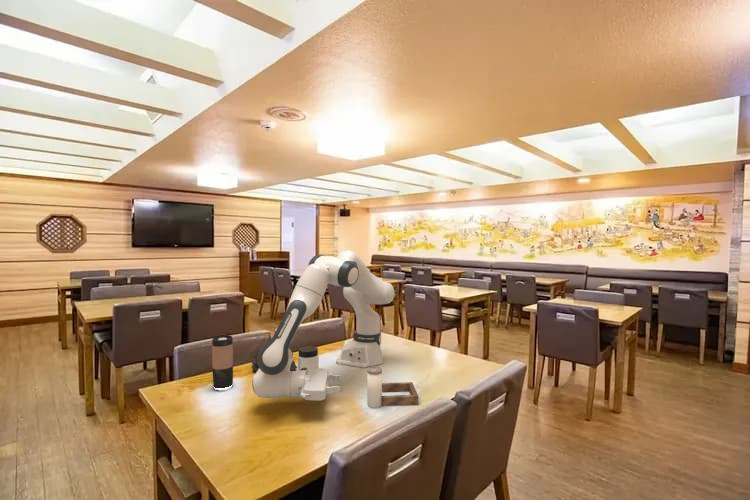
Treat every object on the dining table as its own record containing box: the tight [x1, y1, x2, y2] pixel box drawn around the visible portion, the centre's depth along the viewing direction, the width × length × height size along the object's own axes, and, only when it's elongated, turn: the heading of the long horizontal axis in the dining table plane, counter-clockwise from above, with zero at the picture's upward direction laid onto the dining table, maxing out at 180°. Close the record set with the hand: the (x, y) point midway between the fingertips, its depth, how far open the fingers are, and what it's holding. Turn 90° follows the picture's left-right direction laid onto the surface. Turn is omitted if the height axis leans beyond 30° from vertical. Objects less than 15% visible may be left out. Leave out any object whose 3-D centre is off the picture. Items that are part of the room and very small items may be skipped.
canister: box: [366, 365, 383, 409], centre depth 132 cm, size 5×5×13 cm
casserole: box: [251, 347, 298, 372], centre depth 168 cm, size 25×19×8 cm
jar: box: [297, 345, 320, 371], centre depth 159 cm, size 9×8×12 cm
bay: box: [381, 381, 420, 407], centre depth 139 cm, size 13×13×3 cm
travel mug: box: [211, 334, 234, 388], centre depth 147 cm, size 8×8×20 cm
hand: (340, 383), depth 131 cm, fingers open, 8 cm apart
